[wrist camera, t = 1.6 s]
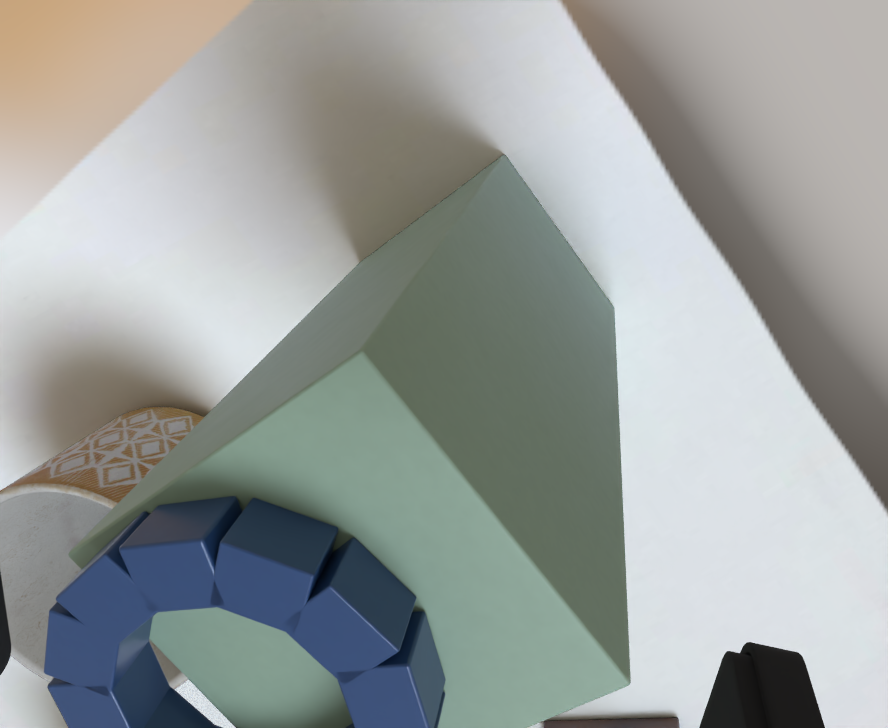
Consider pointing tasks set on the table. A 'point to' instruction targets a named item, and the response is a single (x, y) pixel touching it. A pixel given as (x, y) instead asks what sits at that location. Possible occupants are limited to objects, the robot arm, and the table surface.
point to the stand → (615, 723)
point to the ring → (246, 594)
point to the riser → (430, 469)
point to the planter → (74, 519)
